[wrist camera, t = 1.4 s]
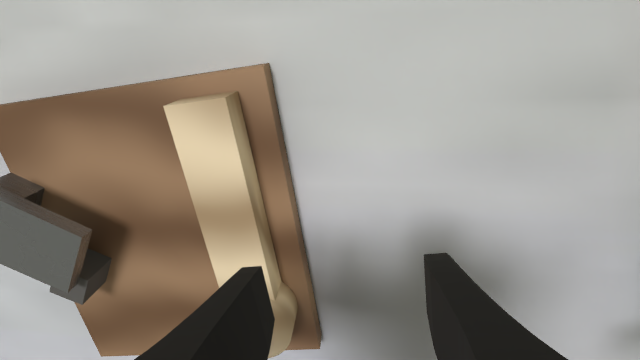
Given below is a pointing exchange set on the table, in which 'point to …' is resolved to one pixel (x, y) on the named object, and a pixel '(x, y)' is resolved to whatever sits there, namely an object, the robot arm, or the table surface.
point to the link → (229, 197)
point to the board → (152, 199)
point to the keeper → (39, 236)
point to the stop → (88, 278)
